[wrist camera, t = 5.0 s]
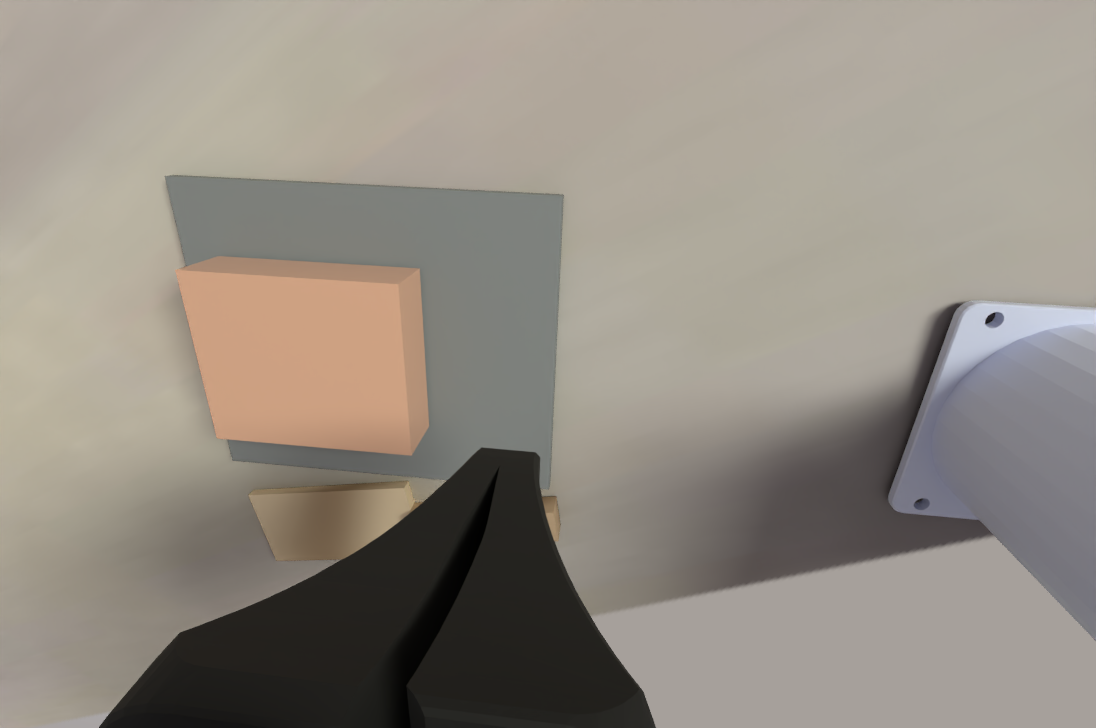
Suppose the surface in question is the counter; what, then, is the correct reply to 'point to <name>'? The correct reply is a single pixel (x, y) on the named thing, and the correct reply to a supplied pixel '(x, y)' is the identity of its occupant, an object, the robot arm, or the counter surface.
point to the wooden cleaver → (340, 517)
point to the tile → (310, 352)
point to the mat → (446, 290)
